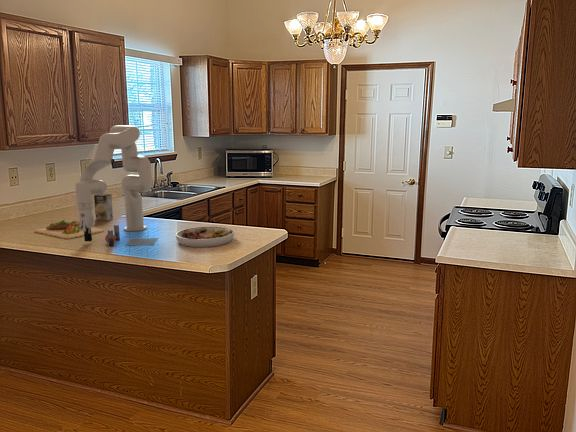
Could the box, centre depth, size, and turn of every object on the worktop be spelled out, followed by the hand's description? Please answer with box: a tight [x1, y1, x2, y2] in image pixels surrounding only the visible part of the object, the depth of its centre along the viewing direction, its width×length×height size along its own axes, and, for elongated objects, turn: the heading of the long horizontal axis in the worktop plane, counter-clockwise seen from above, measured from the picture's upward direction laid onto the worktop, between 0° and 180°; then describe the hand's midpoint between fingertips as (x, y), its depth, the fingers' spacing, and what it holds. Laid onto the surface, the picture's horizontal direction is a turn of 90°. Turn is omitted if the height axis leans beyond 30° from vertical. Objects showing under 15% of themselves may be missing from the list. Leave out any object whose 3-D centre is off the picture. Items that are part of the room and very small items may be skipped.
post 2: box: [113, 224, 121, 242], centre depth 262 cm, size 3×3×8 cm
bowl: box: [175, 225, 235, 248], centre depth 258 cm, size 30×30×8 cm
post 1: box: [107, 229, 115, 247], centre depth 250 cm, size 3×3×8 cm
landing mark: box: [125, 237, 159, 247], centre depth 258 cm, size 14×14×1 cm
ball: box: [104, 233, 115, 244], centre depth 256 cm, size 5×5×5 cm
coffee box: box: [93, 193, 114, 221], centre depth 316 cm, size 9×6×16 cm
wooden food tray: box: [34, 219, 104, 240], centre depth 283 cm, size 35×23×8 cm
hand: (88, 240), depth 255 cm, fingers closed
